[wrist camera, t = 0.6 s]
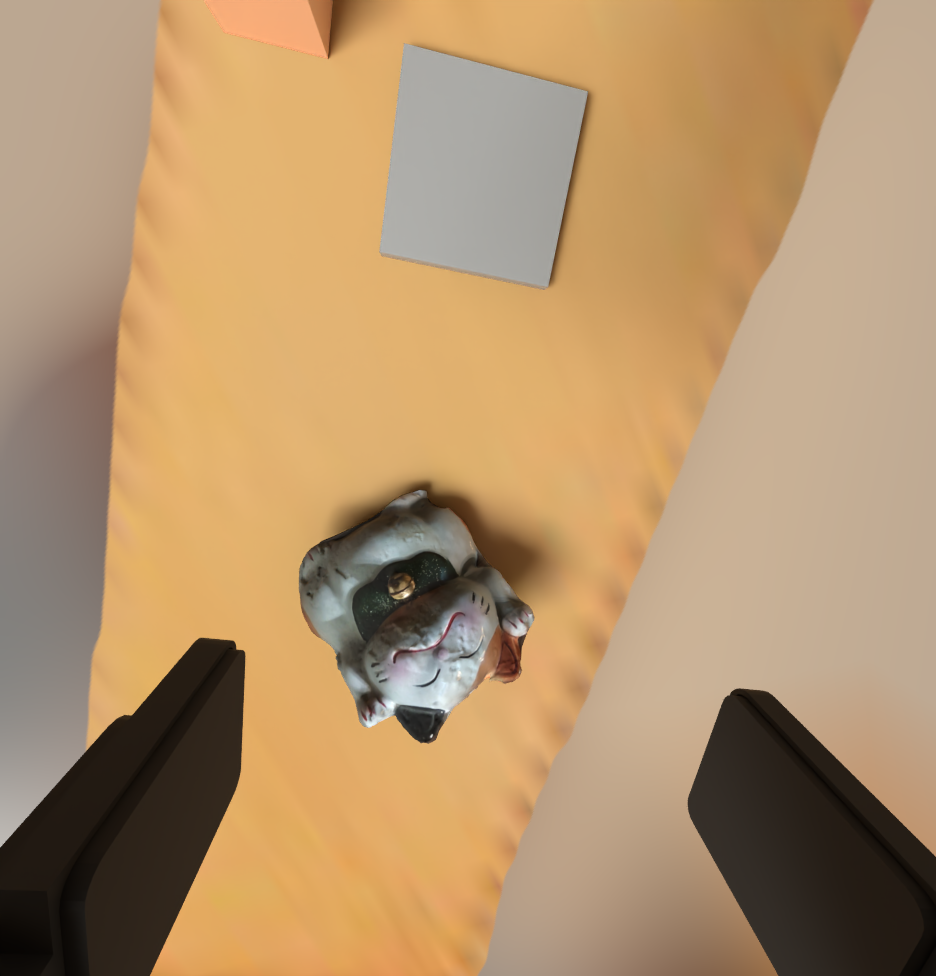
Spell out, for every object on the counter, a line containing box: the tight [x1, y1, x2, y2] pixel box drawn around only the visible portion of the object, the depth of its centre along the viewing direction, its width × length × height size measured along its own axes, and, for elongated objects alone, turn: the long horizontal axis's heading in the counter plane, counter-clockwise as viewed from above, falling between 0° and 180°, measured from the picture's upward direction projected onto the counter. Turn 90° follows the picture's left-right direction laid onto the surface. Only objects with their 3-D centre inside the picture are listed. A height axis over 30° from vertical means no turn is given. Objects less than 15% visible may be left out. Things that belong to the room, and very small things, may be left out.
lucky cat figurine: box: [299, 490, 534, 743], centre depth 33 cm, size 15×12×14 cm
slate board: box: [380, 43, 588, 290], centre depth 31 cm, size 12×12×1 cm
